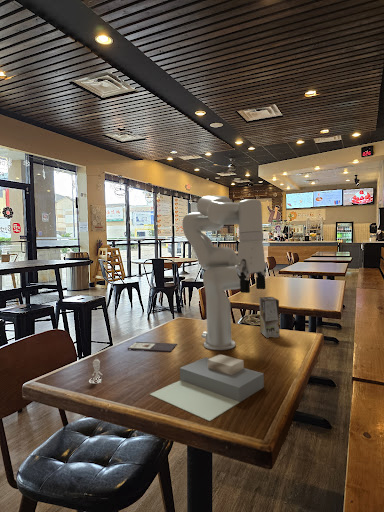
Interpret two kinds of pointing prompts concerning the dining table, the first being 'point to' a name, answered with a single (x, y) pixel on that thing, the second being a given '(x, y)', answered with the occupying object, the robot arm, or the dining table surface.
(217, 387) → the slate deck
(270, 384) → the dining table surface
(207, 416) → the sage mat
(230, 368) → the cream tile
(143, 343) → the chocolate bar
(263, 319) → the coffee box
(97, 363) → the toy figurine
